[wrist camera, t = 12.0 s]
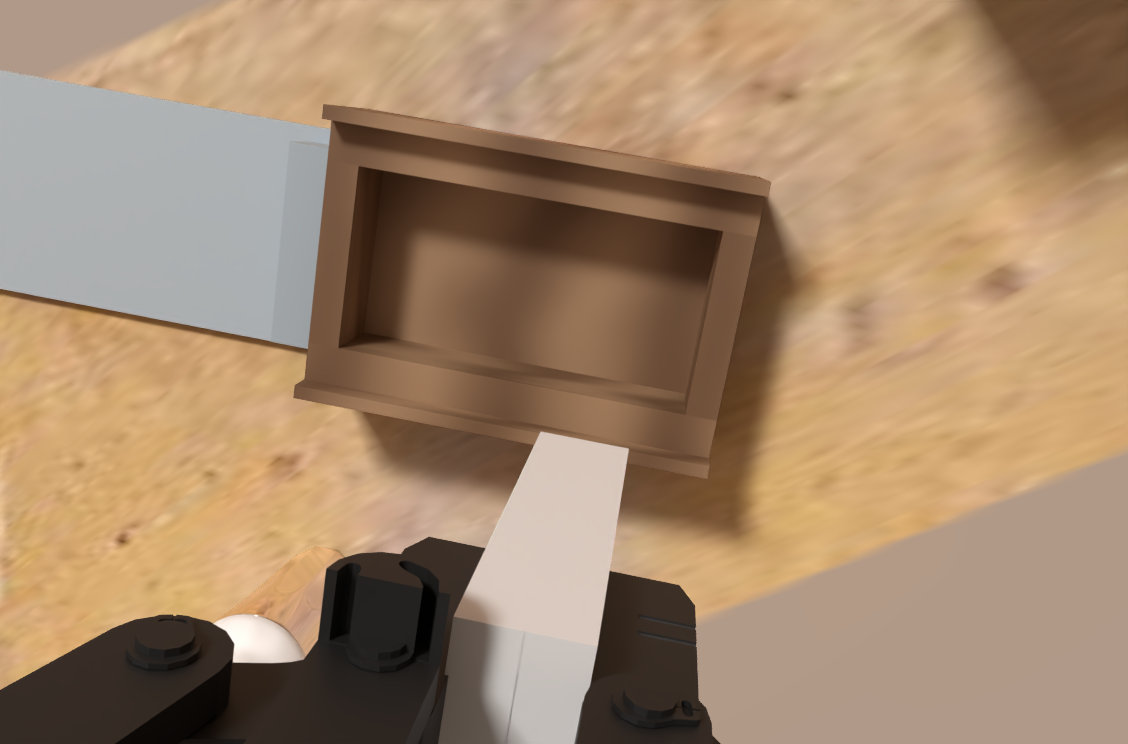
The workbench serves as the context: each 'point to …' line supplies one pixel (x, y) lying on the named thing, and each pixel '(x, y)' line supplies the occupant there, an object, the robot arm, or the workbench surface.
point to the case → (527, 286)
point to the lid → (160, 207)
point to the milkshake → (281, 612)
